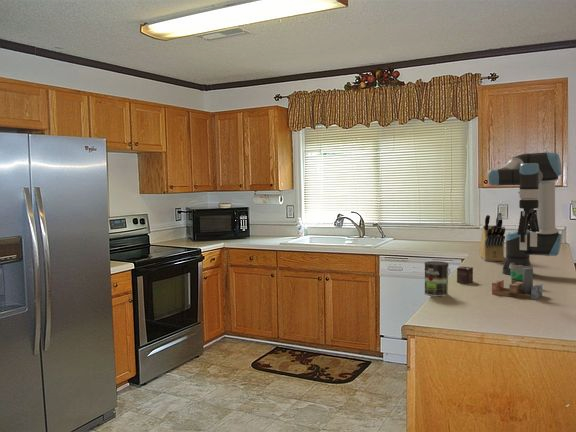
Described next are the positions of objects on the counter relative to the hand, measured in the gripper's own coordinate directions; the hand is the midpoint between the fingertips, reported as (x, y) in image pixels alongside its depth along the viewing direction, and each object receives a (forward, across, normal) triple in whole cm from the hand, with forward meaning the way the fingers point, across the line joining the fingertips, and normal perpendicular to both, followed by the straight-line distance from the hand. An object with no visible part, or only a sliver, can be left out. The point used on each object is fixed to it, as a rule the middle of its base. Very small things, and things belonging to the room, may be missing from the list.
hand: (528, 248), depth 225 cm
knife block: (+22, -97, -52) cm, 112 cm away
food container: (+21, -21, -11) cm, 32 cm away
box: (+21, -14, -34) cm, 42 cm away
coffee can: (+21, +21, -32) cm, 44 cm away
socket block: (+21, +1, -4) cm, 21 cm away
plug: (+21, +2, 0) cm, 21 cm away
